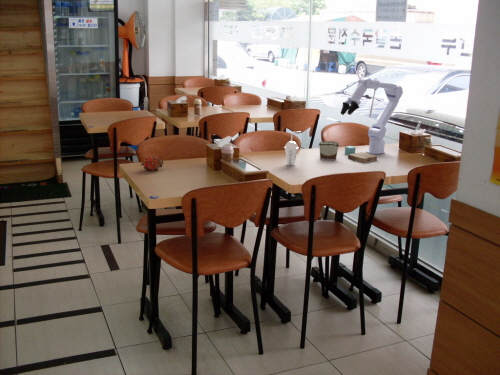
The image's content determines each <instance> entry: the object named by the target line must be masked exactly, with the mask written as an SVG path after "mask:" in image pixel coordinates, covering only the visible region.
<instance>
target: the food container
mask: <svg viewBox="0 0 500 375" xmlns="http://www.w3.org/2000/svg"><path fill="white" fill-rule="evenodd" d="M318 146H319V158H320V160H327V161H328V160H329V161H330V160H332V161H335V160H336V161H337V155H338V151H339V147H340V143H339V142H338V141H334V140H333V141H331V140H324V141H323V140H321V141H320V142H319V143H318Z"/></svg>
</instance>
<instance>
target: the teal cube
mask: <svg viewBox="0 0 500 375" xmlns="http://www.w3.org/2000/svg"><path fill="white" fill-rule="evenodd" d="M356 148H357V147H355V146H352V145H348V146H345V147H344V154H345V155H348V154H354V153H356Z"/></svg>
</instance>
